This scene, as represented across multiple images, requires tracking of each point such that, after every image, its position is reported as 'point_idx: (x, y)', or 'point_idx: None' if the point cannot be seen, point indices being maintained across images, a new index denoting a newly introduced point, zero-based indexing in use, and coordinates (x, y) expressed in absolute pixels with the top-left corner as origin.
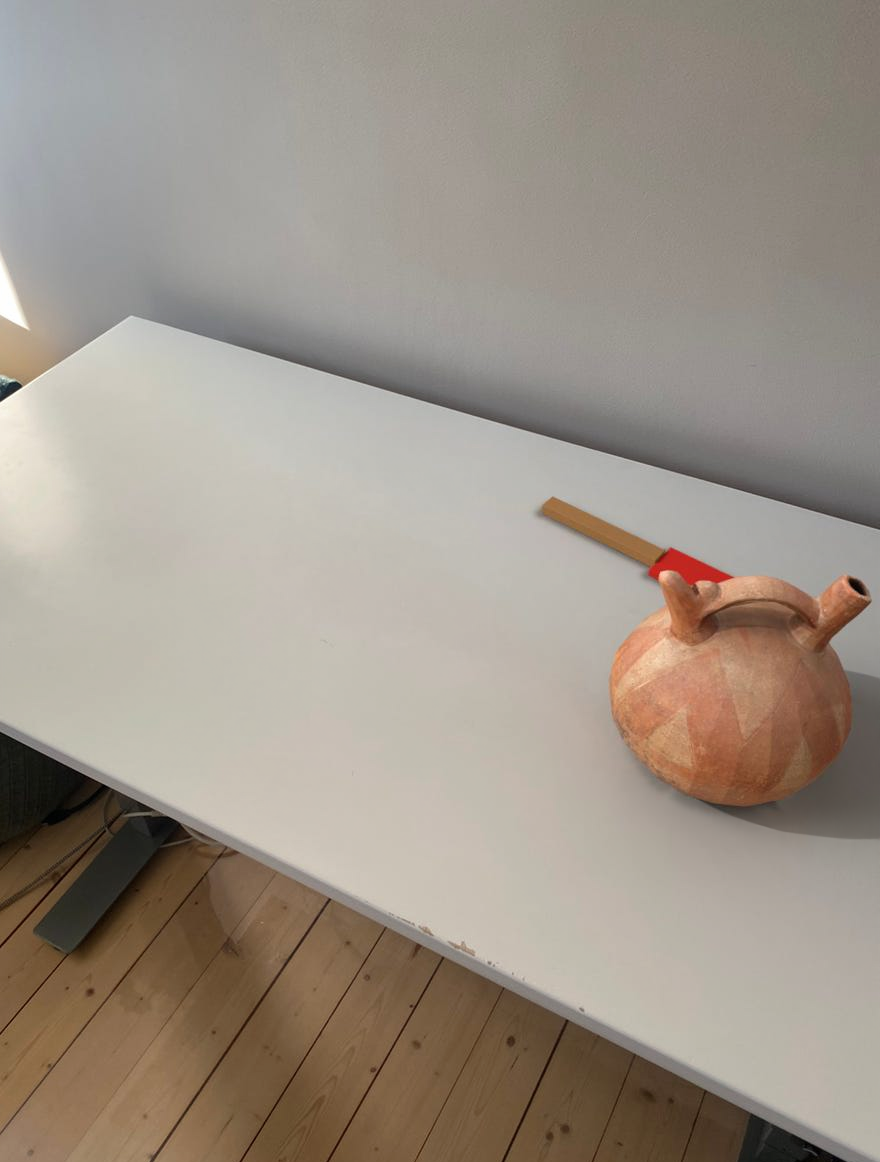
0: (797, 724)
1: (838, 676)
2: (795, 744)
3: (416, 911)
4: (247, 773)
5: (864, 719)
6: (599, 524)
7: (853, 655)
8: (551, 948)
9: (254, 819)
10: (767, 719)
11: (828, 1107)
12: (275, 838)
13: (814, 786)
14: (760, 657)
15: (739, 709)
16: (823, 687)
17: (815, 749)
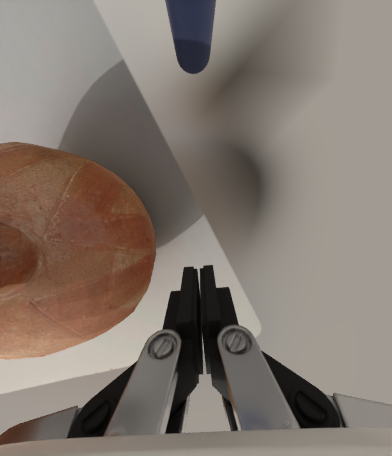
0: (105, 315)
1: (86, 239)
2: (121, 310)
3: (88, 371)
4: None
5: (149, 117)
6: None
7: (99, 43)
8: (134, 352)
9: (14, 384)
10: (84, 337)
11: None
12: (27, 384)
13: (159, 203)
14: (1, 342)
15: (59, 350)
16: (85, 282)
17: (136, 289)
